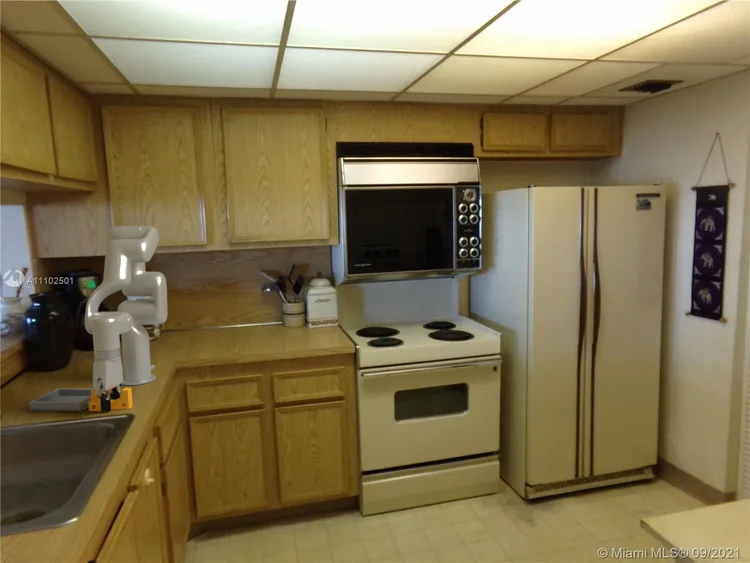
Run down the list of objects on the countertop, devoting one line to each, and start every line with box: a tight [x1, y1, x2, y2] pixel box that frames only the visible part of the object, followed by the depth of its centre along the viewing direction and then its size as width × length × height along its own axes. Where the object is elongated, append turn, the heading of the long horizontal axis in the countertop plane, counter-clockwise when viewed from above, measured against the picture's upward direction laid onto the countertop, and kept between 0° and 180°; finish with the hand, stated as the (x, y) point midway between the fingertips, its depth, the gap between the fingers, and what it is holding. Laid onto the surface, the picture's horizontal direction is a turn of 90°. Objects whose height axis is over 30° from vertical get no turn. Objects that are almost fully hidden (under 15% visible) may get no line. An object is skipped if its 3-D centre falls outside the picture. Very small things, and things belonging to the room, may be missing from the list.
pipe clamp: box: [88, 387, 133, 412], centre depth 164 cm, size 12×4×6 cm, turn 91°
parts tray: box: [28, 387, 106, 412], centre depth 169 cm, size 14×17×3 cm
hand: (111, 407), depth 164 cm, fingers closed on pipe clamp, 4 cm apart
